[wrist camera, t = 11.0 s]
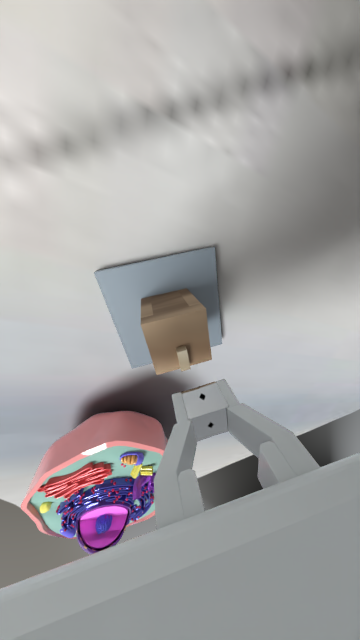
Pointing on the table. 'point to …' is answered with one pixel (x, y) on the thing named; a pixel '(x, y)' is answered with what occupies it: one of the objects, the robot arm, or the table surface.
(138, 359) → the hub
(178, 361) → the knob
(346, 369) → the table surface
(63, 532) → the cell model
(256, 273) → the table surface
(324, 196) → the table surface
